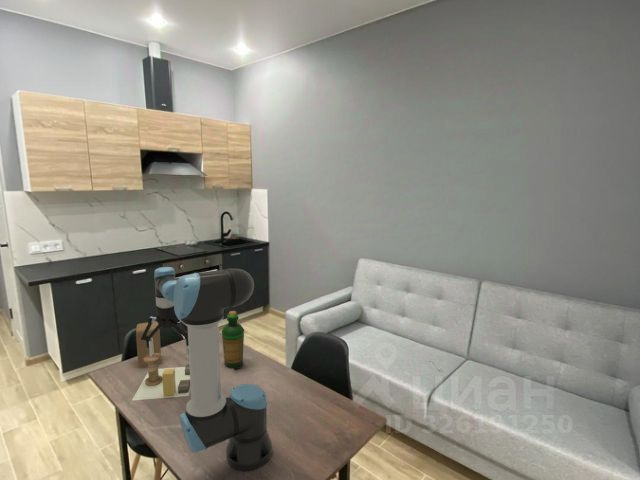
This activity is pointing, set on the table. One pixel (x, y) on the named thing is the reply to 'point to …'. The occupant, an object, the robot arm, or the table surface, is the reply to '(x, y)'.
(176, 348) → the table surface
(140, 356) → the wooden block
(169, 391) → the yellow rectangular block
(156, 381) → the bobbin
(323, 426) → the table surface
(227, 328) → the bottle
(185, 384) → the notch board
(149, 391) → the board
